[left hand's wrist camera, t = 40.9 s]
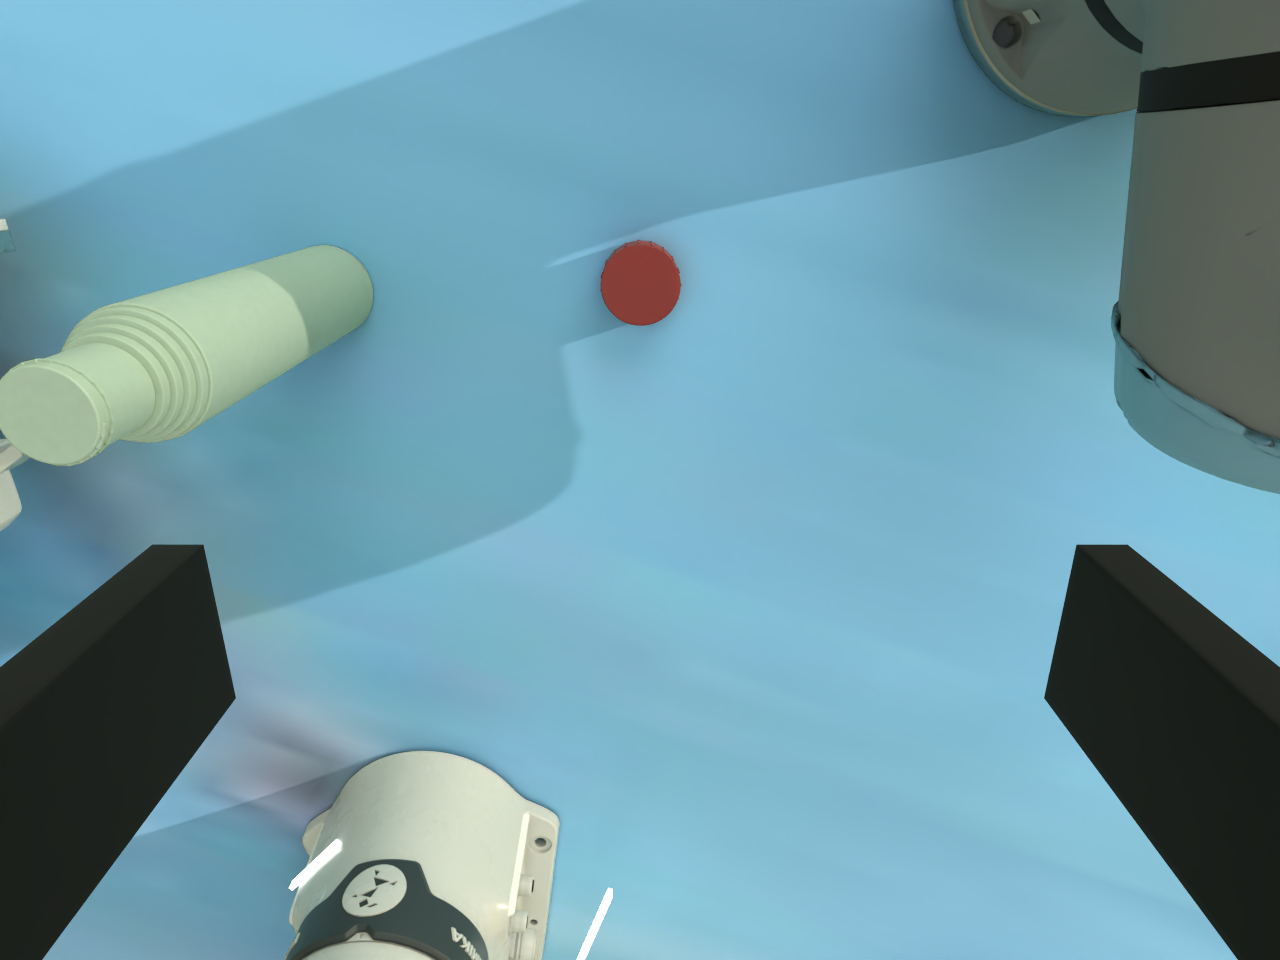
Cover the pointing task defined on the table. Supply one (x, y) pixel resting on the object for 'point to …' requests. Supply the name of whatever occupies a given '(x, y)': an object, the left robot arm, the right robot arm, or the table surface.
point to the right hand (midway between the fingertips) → (34, 338)
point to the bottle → (181, 354)
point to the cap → (640, 283)
